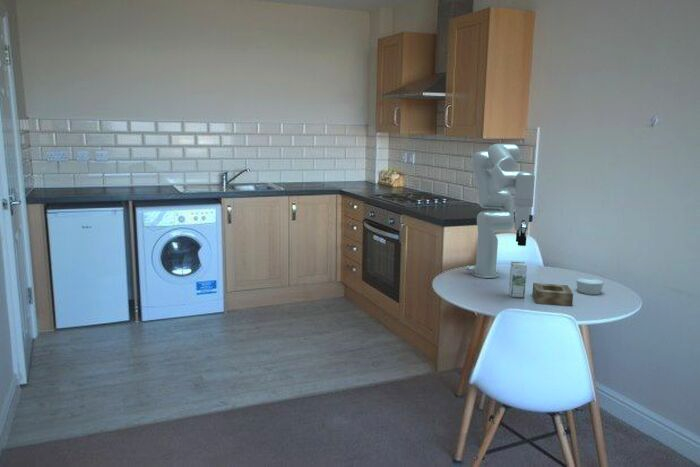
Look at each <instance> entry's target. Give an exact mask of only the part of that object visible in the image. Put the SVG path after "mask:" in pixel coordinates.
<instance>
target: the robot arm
mask: <svg viewBox="0 0 700 467" xmlns="http://www.w3.org/2000/svg"><path fill="white" fill-rule="evenodd" d="M520 158H521V150H520V147H519V146H518V145H517V144H516V143H494V144H492V145H490V146H489V147H488V149H487V150H480V151H478V152H475V153H474V154H473V156H472V160H471V163H472V164H471V165H472V166H471V167H472V171H473V174H474V177H475V180H476V189H477V200H478V205H479V206H480V207H481V208H482V209H492V210H482V211H480V212H479V213H478V214H477V216H476V226H477V243H476V244H477V247H476V258H475V259H476V262H475V264H474V265H466V267H465V268H466V271H470V272H471V271H472V272H471V273H472V276H474V277H476V278H477V277H478V278H480V279H481V278H482V279H497V278H498V277H499V276H500V273H498V272H497V261H498V245H499V240H498V237H497V235H496V234H495V233H494V231H495V232H496V231H510V230H512V229H514V230H515V231H516V233H515V234H516V237H515V242H516V243H517V246H518V247H519V246H520V247H526V246H527V231H528V230H529V223H530V208H532V207H534V193H535V181H536V180H535V179H536V177H535V174H534V173H532V172H528V171H523V170H522V171H519V170H516V171H515V170H513V169H514V168H515V165H516V163H517V162H519V160H520ZM489 169H490V170H491V171H492V172H490V171H489ZM496 186H497V187H498V188H497V187H496ZM510 190H514V197H513V196H512V193H511V191H510ZM513 199H514V200H513ZM514 207H515V212H514ZM493 209H494V210H493ZM495 209H499V210H495Z"/></svg>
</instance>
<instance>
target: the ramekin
mask: <svg viewBox="0 0 700 467" xmlns="http://www.w3.org/2000/svg"><path fill="white" fill-rule="evenodd" d="M575 281H576V290H577V291H578V293H581V294H584V295H590V296H594V295H595V296H598V295H600V294H601V293H602V291H603V290H602V289H603V286H604V281H603V280H600V279H597V278H592V277H591V278H590V277H579V278H576V280H575Z"/></svg>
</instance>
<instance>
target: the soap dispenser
mask: <svg viewBox="0 0 700 467" xmlns="http://www.w3.org/2000/svg"><path fill="white" fill-rule="evenodd" d="M527 269H528V265H527V263H526V262H524V261H510V270H509V282H508V296H509V297H511V298H516V299H517V298H519V299H524V298H525V293H526V282H527V271H528V270H527Z"/></svg>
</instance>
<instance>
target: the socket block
mask: <svg viewBox="0 0 700 467" xmlns="http://www.w3.org/2000/svg"><path fill="white" fill-rule="evenodd" d="M532 297H533V300H534V303H535V304H541V305H542V304H543V305H554V306H555V305H556V306H567V307H568V306H569V307H572V306H573V300H574V293H573V292H572V290H571V289H570V287H569V285H567V284H556V283H555V284H554V283H540V282H533V283H532Z"/></svg>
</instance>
